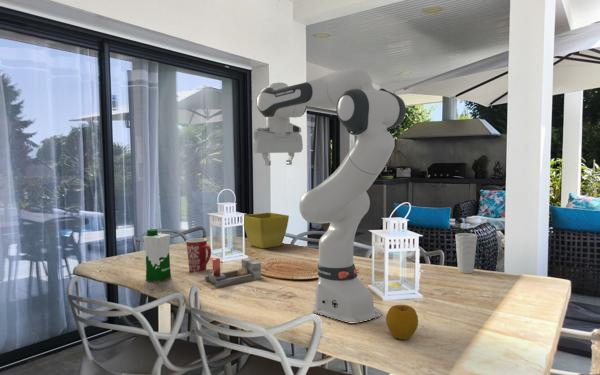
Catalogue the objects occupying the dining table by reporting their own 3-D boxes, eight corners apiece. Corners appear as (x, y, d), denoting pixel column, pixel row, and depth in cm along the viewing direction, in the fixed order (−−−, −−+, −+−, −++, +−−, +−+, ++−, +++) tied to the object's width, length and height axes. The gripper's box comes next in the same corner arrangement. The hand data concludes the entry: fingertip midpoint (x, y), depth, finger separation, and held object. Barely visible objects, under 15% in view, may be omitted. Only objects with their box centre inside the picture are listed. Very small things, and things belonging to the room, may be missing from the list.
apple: (403, 347, 111) (403, 314, 110) (378, 336, 118) (378, 305, 117) (424, 339, 116) (425, 306, 115) (400, 329, 123) (400, 298, 122)
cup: (455, 273, 178) (455, 236, 176) (454, 268, 186) (454, 232, 185) (477, 275, 175) (478, 237, 174) (475, 269, 183) (476, 233, 182)
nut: (249, 277, 171) (249, 267, 171) (240, 279, 169) (240, 269, 169) (244, 275, 175) (244, 265, 174) (235, 277, 172) (235, 267, 172)
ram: (225, 283, 164) (225, 259, 163) (215, 285, 161) (215, 261, 161) (217, 279, 169) (216, 256, 169) (208, 281, 167) (207, 258, 166)
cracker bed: (264, 282, 170) (264, 263, 169) (212, 293, 157) (212, 273, 156) (247, 274, 181) (246, 257, 181) (197, 284, 168) (196, 265, 168)
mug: (182, 271, 188) (181, 240, 187) (199, 266, 195) (198, 237, 194) (201, 276, 181) (200, 243, 180) (218, 271, 188) (217, 240, 187)
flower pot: (269, 240, 252) (269, 212, 251) (290, 245, 238) (289, 215, 237) (242, 245, 240) (241, 215, 239) (261, 251, 226) (261, 218, 224)
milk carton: (156, 275, 183) (154, 228, 181) (174, 276, 180) (172, 228, 179) (142, 280, 175) (140, 231, 173) (161, 282, 172) (159, 232, 170)
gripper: (258, 126, 154) (259, 166, 155) (304, 128, 166) (305, 164, 167) (249, 127, 159) (250, 165, 160) (295, 129, 171) (295, 164, 172)
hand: (278, 165), depth 163 cm, fingers open, 8 cm apart
